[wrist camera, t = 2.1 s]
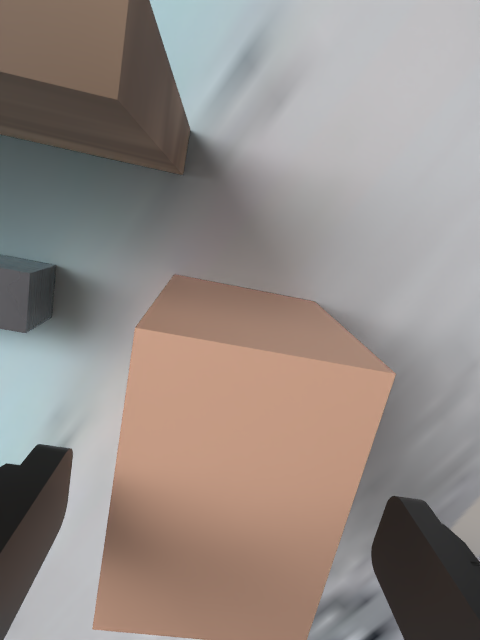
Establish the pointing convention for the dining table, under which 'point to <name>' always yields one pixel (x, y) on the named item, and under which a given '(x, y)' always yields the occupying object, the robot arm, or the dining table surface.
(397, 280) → the dining table surface
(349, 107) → the dining table surface
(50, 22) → the wall board
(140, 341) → the cabinet block
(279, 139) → the dining table surface
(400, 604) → the robot arm
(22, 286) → the rail
